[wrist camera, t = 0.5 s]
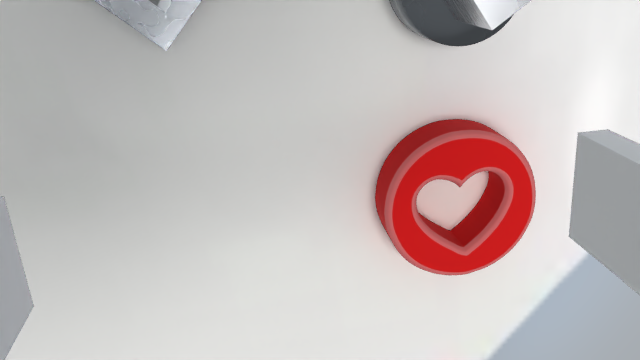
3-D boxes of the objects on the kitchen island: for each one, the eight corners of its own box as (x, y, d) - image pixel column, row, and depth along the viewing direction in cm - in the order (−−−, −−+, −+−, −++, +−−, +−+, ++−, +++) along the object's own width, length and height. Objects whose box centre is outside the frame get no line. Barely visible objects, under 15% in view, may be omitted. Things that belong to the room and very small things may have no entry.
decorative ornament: (416, 279, 42) (429, 303, 39) (348, 169, 39) (357, 186, 36) (538, 208, 42) (561, 227, 39) (480, 89, 38) (501, 100, 35)
